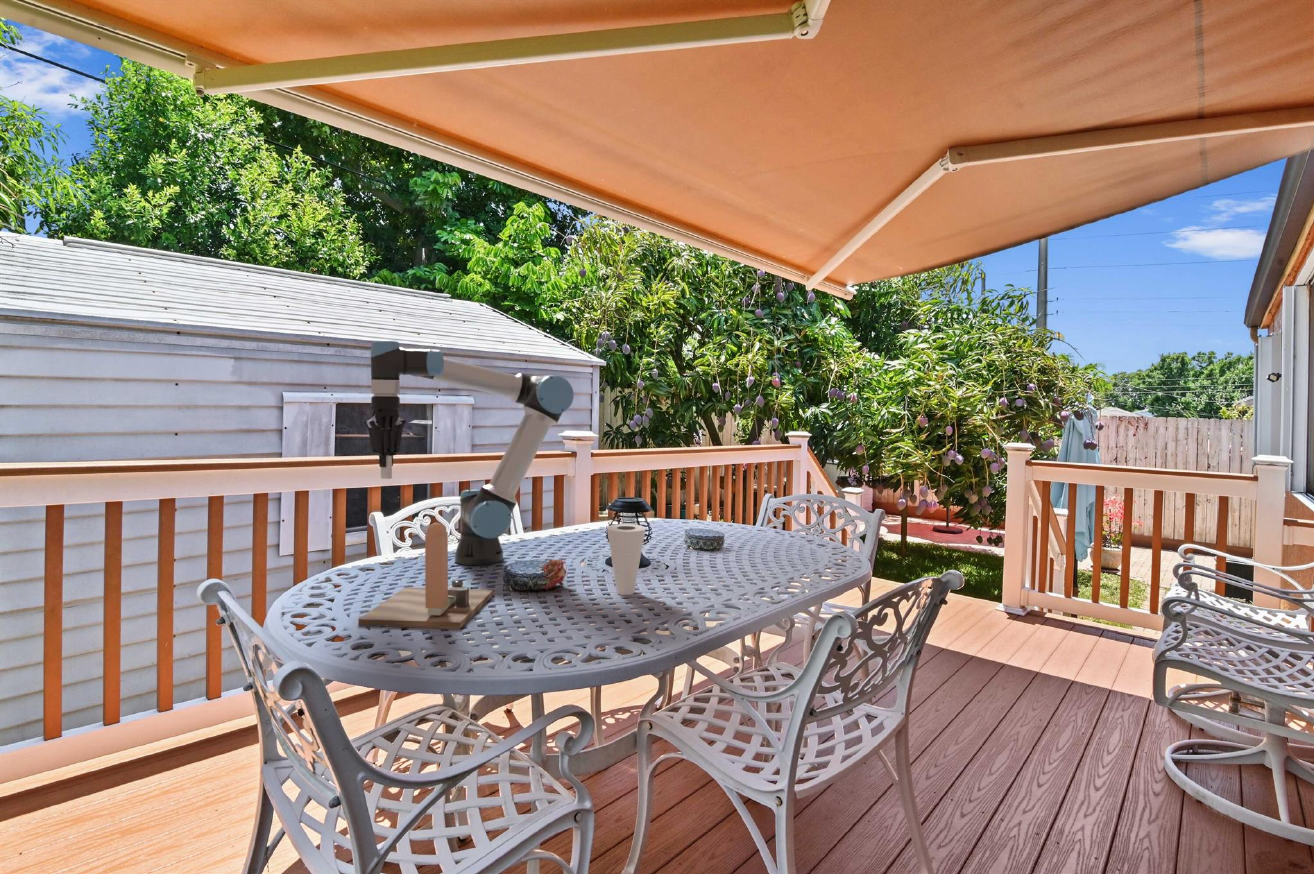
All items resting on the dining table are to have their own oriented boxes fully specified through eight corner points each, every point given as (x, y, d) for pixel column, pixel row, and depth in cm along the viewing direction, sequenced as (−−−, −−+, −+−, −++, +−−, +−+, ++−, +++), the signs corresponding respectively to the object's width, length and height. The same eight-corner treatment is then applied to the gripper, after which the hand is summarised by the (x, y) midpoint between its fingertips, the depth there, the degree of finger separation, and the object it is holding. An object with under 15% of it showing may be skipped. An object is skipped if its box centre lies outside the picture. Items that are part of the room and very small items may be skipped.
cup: (598, 592, 189) (598, 527, 187) (625, 584, 196) (626, 522, 195) (625, 600, 181) (626, 533, 180) (652, 592, 189) (653, 528, 188)
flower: (562, 574, 200) (546, 554, 197) (581, 574, 193) (565, 553, 191) (541, 598, 194) (525, 578, 191) (560, 599, 187) (544, 578, 185)
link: (451, 591, 181) (450, 509, 180) (468, 591, 181) (468, 509, 180) (423, 617, 161) (423, 524, 160) (443, 617, 161) (442, 524, 159)
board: (405, 592, 185) (405, 587, 185) (493, 595, 184) (493, 590, 184) (358, 625, 159) (358, 619, 159) (460, 629, 158) (459, 622, 158)
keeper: (447, 592, 181) (447, 576, 180) (480, 593, 180) (480, 577, 180) (431, 606, 169) (431, 589, 169) (465, 607, 169) (465, 590, 168)
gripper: (393, 395, 201) (394, 475, 203) (357, 395, 190) (358, 479, 191) (412, 395, 198) (413, 476, 200) (377, 395, 187) (377, 481, 188)
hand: (386, 478), depth 196 cm, fingers closed
